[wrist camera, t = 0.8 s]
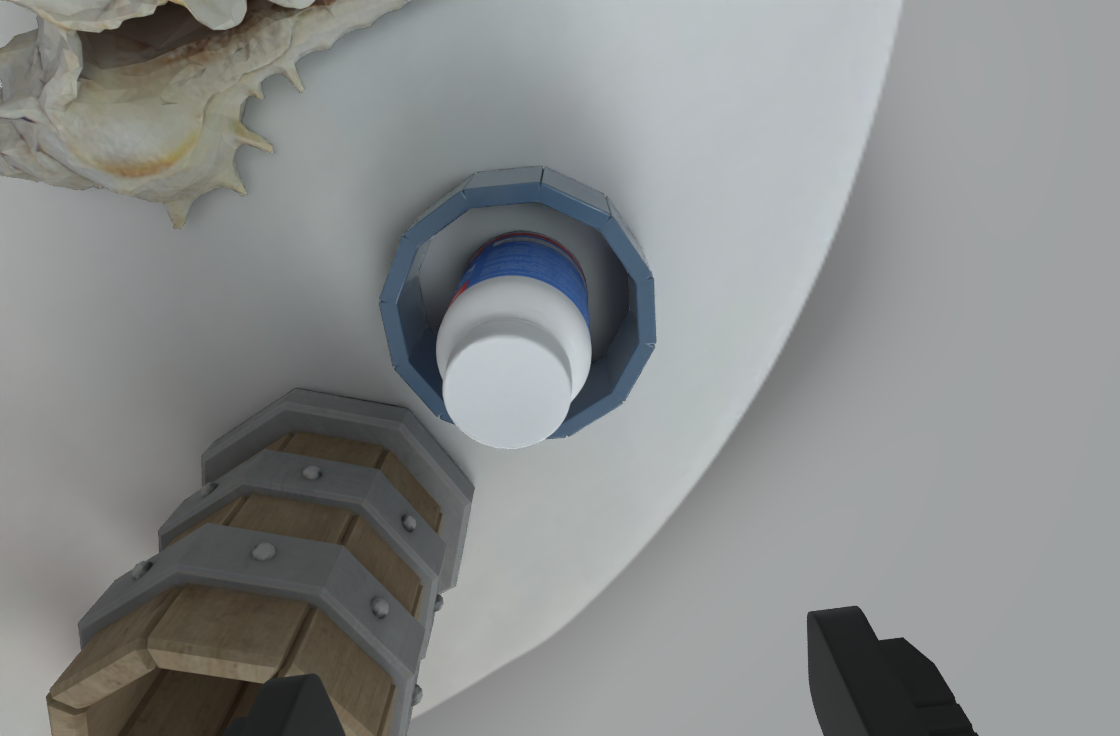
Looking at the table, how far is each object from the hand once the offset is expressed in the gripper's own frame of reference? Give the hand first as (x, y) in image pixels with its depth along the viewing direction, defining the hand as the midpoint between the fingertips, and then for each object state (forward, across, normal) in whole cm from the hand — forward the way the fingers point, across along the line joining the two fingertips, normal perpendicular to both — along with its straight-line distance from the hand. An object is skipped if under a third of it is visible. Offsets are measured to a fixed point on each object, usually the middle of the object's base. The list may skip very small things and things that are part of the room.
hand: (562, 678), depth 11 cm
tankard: (+20, +16, +11) cm, 28 cm away
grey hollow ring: (+20, +2, 0) cm, 20 cm away
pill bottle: (+20, +2, 0) cm, 20 cm away
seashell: (+20, +6, -12) cm, 24 cm away
